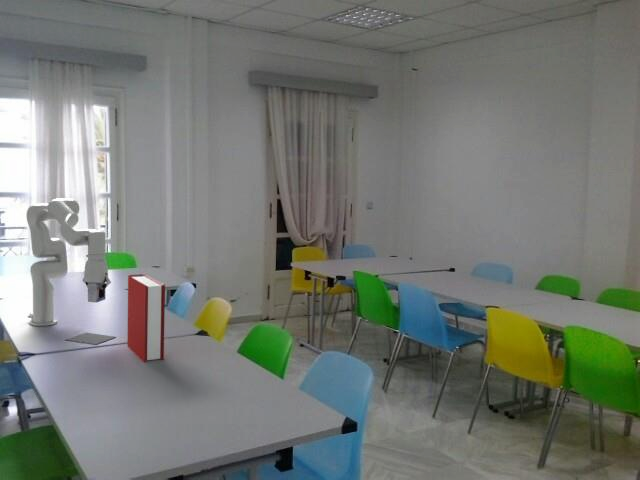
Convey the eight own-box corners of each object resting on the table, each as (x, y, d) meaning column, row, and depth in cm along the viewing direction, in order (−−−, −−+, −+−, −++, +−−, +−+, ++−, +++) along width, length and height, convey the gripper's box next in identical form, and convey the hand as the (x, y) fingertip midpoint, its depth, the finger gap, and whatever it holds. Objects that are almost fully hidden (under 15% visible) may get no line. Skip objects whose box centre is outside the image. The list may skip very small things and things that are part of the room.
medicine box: (96, 302, 271) (96, 283, 270) (87, 302, 272) (87, 283, 271) (105, 299, 279) (105, 281, 278) (96, 298, 280) (97, 280, 279)
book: (163, 359, 250) (164, 284, 247) (144, 362, 246) (145, 285, 243) (144, 343, 273) (145, 274, 270) (126, 345, 269) (127, 275, 265)
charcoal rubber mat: (64, 340, 272) (64, 339, 272) (85, 333, 286) (85, 332, 286) (96, 345, 267) (96, 344, 267) (115, 337, 280) (116, 336, 280)
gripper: (75, 257, 272) (75, 296, 274) (107, 260, 267) (107, 300, 269) (86, 255, 279) (86, 294, 281) (117, 258, 274) (117, 297, 276)
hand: (96, 296), depth 275 cm, fingers closed on medicine box, 4 cm apart
